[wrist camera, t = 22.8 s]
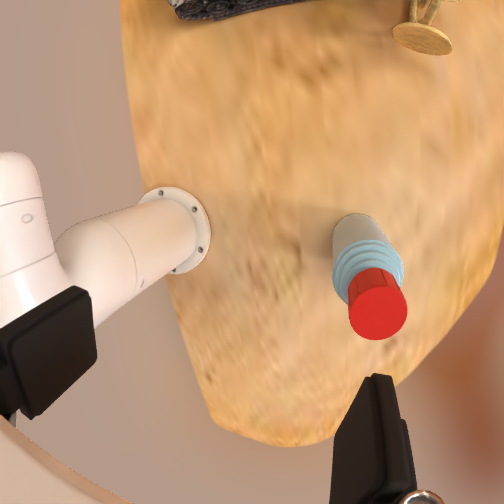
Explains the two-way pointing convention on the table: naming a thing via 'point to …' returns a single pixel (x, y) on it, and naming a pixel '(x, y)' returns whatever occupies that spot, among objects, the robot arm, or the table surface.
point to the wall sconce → (423, 30)
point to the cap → (376, 304)
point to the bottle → (361, 252)
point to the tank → (219, 7)
